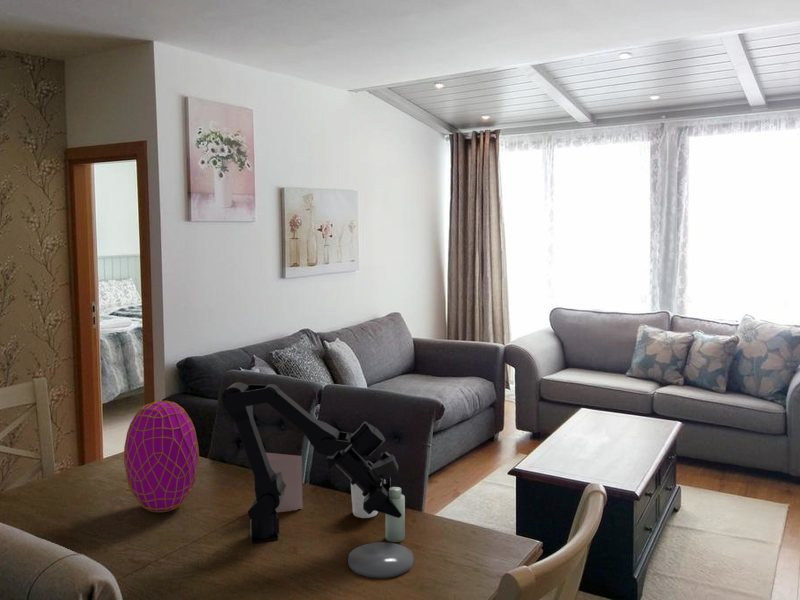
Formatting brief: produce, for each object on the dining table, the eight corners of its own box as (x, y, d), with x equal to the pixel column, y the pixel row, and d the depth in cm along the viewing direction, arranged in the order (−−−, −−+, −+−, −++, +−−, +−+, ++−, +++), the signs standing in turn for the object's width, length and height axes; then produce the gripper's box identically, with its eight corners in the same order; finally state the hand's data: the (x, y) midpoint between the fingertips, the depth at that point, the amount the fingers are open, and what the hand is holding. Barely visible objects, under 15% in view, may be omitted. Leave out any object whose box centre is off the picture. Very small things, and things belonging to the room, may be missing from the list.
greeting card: (303, 508, 186) (303, 455, 185) (292, 518, 179) (291, 463, 178) (266, 503, 189) (265, 451, 188) (253, 513, 182) (252, 459, 181)
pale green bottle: (388, 543, 165) (388, 493, 163) (383, 535, 169) (383, 486, 168) (407, 540, 166) (407, 491, 165) (401, 532, 171) (401, 484, 169)
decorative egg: (109, 517, 180) (105, 407, 177) (160, 492, 198) (157, 391, 195) (166, 528, 173) (163, 414, 170) (214, 501, 191) (212, 397, 188)
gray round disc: (357, 582, 145) (357, 577, 145) (341, 552, 160) (341, 547, 160) (422, 572, 150) (422, 566, 150) (401, 543, 164) (401, 538, 164)
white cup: (375, 520, 178) (375, 483, 177) (347, 517, 180) (347, 481, 179) (382, 508, 186) (382, 473, 185) (355, 506, 187) (354, 471, 186)
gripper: (377, 458, 156) (424, 504, 157) (381, 435, 175) (423, 477, 176) (343, 491, 157) (390, 537, 158) (350, 464, 176) (393, 505, 176)
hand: (400, 512), depth 167 cm, fingers closed on pale green bottle, 5 cm apart
